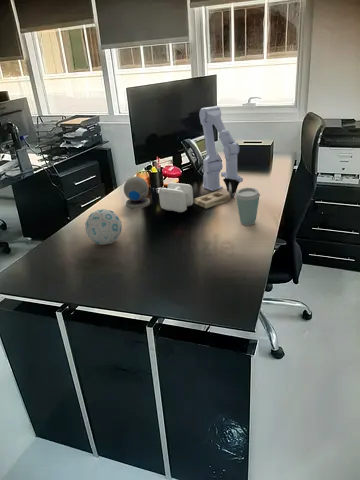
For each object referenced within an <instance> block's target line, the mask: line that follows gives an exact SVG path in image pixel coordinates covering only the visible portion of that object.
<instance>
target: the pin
mask: <svg viewBox="0 0 360 480" xmlns="http://www.w3.org/2000/svg"><path fill="white" fill-rule="evenodd" d="M235 194H236V193H234V194H233V193H232V187H231V184H230V182H229V192H228V195H230V199H232V198H236V197H235Z"/></svg>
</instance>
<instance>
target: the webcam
mask: <svg viewBox="0 0 360 480" xmlns="http://www.w3.org/2000/svg"><path fill="white" fill-rule="evenodd" d="M123 192H124V195H125V197H126V198H127V200H126V202H125V206H126V208H128V209H134V210H135V209H143V208H145V207H148V206H149V205H150V204H151V199H150V198H149V197H147V196H148V193H149V184H148V183H147V181H146V180H145V178H142V177H140V176H132V177H129V178H128V179H127V180H126V181H125V183H124V184H123Z"/></svg>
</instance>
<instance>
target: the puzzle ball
mask: <svg viewBox="0 0 360 480" xmlns="http://www.w3.org/2000/svg"><path fill="white" fill-rule="evenodd" d="M122 228H123V223H122V221H121V219H120V217H119V215H117V214H116V213H115V212H114V211H113V210H110V209H107V208H102V209H97V210H95V211H93V212H91V213H90V214H89V216H88V217H87V219H86V221H85V233H86V234H87V237H88V238H89V240H91V241H92V242H93V243H94V244H95V243H96V244H97V245H100V246H106V245H110V244H112V243H114V242H115V241H116V240H118V238H119V237H120V236H121V233H122Z"/></svg>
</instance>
